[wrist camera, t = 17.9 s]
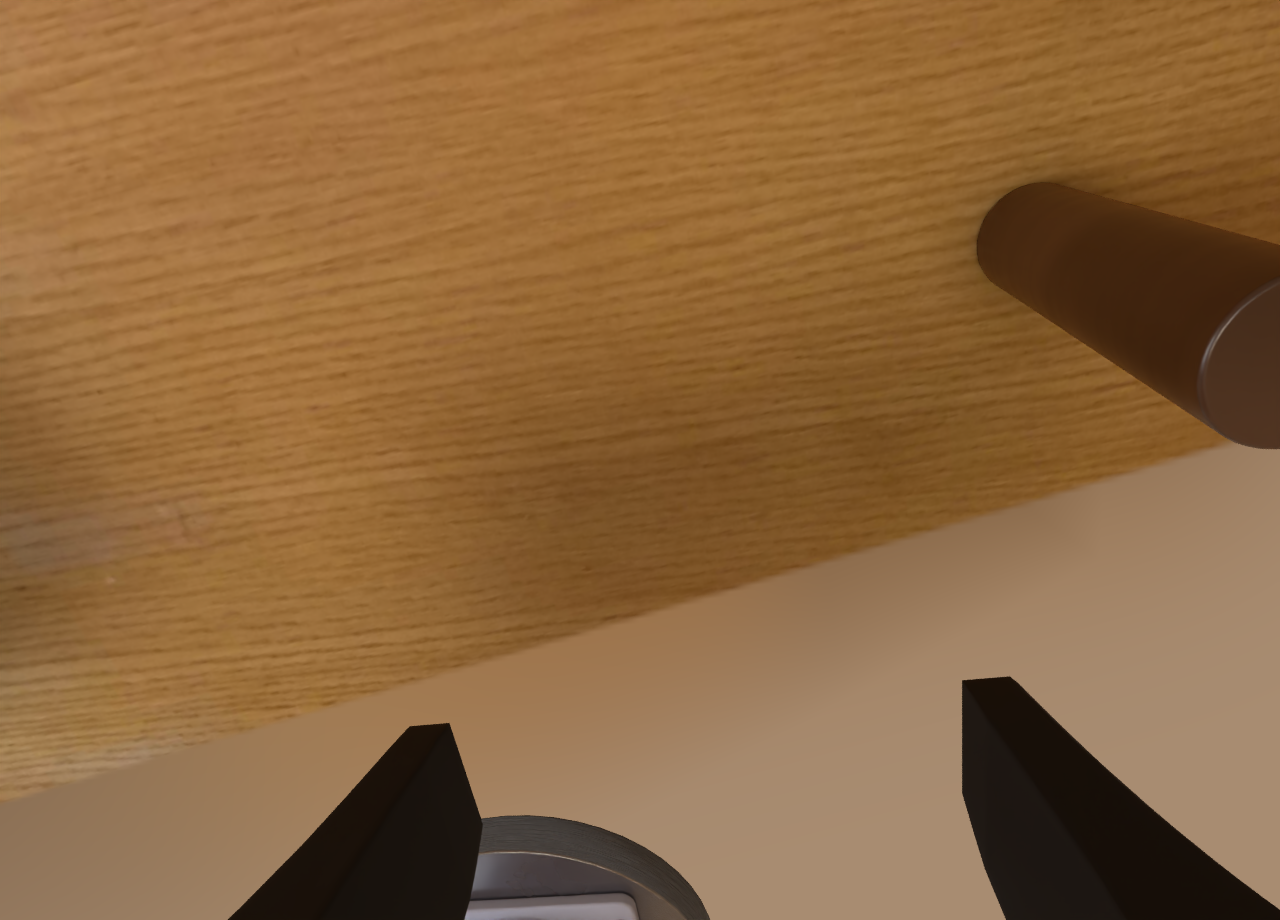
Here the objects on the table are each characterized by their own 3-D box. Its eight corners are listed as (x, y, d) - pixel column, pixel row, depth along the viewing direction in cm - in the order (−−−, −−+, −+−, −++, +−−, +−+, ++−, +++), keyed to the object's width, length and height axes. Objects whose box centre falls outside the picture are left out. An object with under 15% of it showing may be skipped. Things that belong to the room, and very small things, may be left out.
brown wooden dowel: (1084, 283, 19) (1390, 439, 10) (975, 298, 19) (1189, 462, 11) (1091, 173, 18) (1434, 250, 9) (976, 191, 18) (1211, 280, 10)
